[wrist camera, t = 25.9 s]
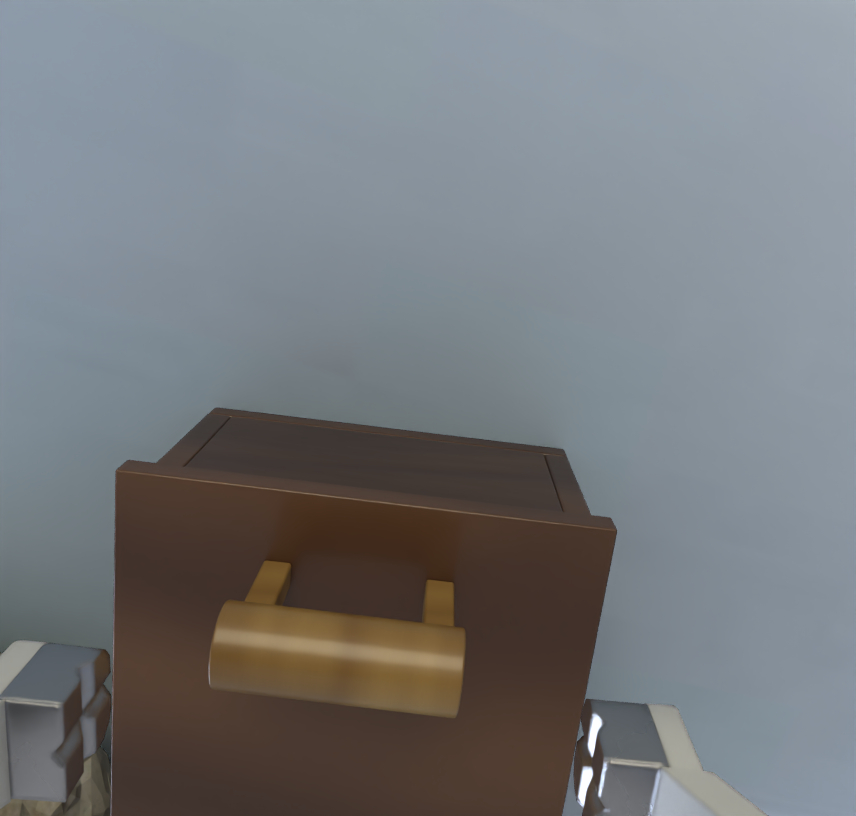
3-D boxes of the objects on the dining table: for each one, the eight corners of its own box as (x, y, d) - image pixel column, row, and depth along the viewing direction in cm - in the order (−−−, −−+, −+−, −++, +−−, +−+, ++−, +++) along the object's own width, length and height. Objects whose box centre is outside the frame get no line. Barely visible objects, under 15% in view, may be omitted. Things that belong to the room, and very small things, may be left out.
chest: (214, 406, 28) (126, 488, 20) (564, 448, 28) (605, 546, 20) (193, 846, 33) (116, 1043, 25) (490, 881, 33) (501, 1088, 25)
